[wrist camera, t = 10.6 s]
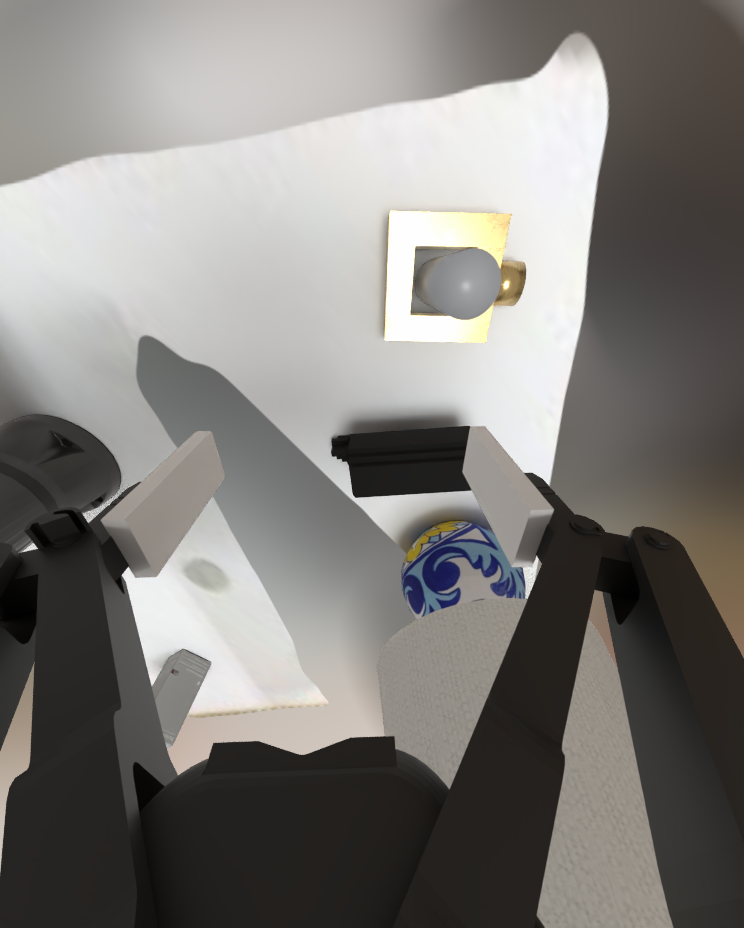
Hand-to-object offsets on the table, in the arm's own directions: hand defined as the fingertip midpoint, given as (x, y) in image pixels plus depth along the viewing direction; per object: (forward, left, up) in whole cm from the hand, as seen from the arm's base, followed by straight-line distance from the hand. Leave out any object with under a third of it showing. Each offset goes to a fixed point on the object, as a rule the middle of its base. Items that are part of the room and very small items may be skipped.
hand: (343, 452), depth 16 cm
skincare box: (-42, -72, -25) cm, 87 cm away
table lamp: (+16, -33, -25) cm, 45 cm away
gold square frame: (+10, +8, -25) cm, 28 cm away
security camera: (+5, -12, -25) cm, 28 cm away
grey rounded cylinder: (+8, +8, -25) cm, 27 cm away
